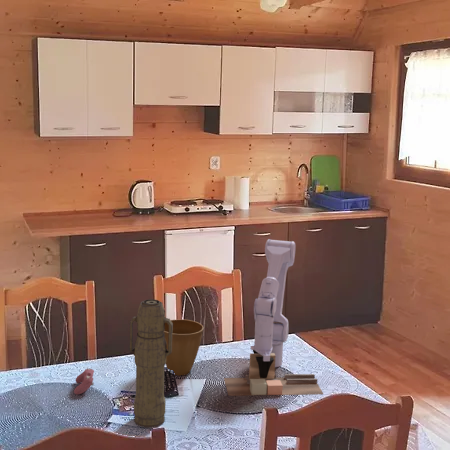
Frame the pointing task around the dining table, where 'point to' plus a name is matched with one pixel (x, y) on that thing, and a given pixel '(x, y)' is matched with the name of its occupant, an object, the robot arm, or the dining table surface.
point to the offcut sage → (258, 386)
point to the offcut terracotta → (274, 387)
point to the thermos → (150, 362)
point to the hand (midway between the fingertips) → (261, 373)
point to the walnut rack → (290, 382)
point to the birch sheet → (255, 368)
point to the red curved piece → (84, 381)
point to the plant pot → (183, 345)
